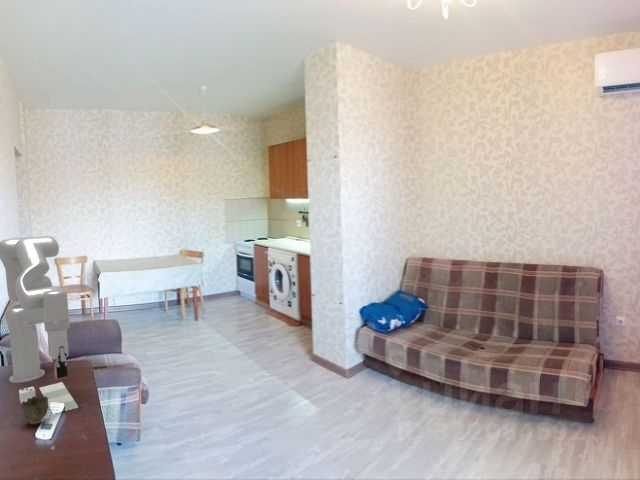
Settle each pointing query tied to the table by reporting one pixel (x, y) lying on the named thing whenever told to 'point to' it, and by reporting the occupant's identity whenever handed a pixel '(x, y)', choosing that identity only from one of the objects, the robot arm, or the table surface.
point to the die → (26, 394)
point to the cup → (35, 409)
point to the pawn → (56, 370)
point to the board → (59, 395)
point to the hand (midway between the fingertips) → (61, 374)
